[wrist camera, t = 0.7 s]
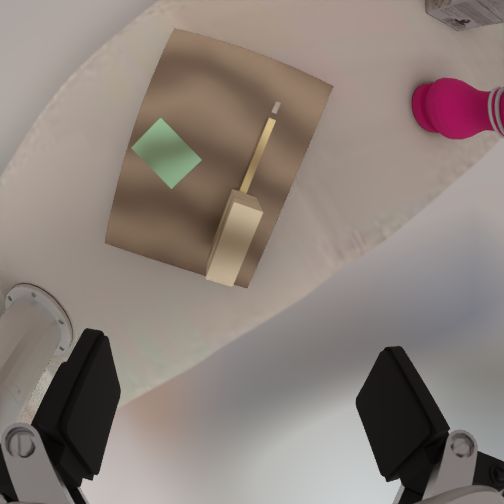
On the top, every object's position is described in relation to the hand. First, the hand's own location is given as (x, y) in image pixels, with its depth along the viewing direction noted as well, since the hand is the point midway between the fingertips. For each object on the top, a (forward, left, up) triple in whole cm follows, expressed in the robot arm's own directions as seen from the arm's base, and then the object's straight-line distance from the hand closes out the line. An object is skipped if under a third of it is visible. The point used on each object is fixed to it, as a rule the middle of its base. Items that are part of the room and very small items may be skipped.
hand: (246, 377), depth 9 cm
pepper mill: (+20, -18, -25) cm, 37 cm away
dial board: (+3, +3, -24) cm, 25 cm away
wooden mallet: (+2, -1, -23) cm, 23 cm away
